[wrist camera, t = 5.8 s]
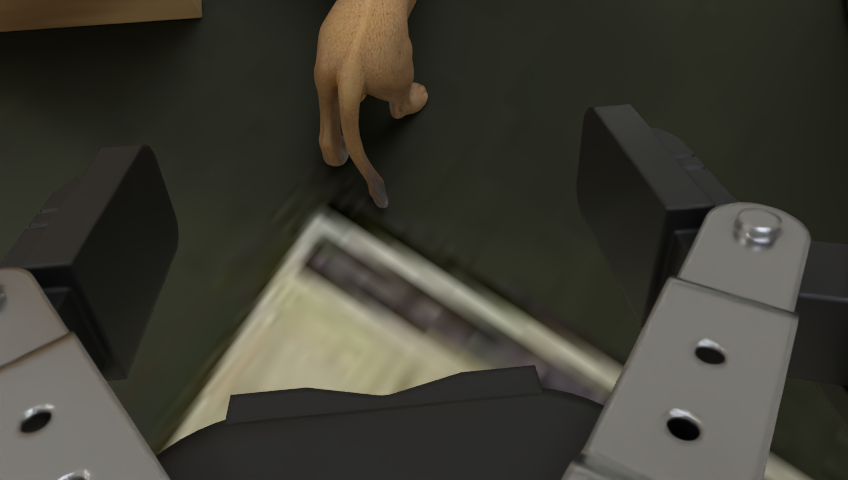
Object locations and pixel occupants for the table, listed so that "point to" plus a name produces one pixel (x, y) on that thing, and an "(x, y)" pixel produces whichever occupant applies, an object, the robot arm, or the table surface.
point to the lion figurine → (363, 77)
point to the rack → (91, 12)
